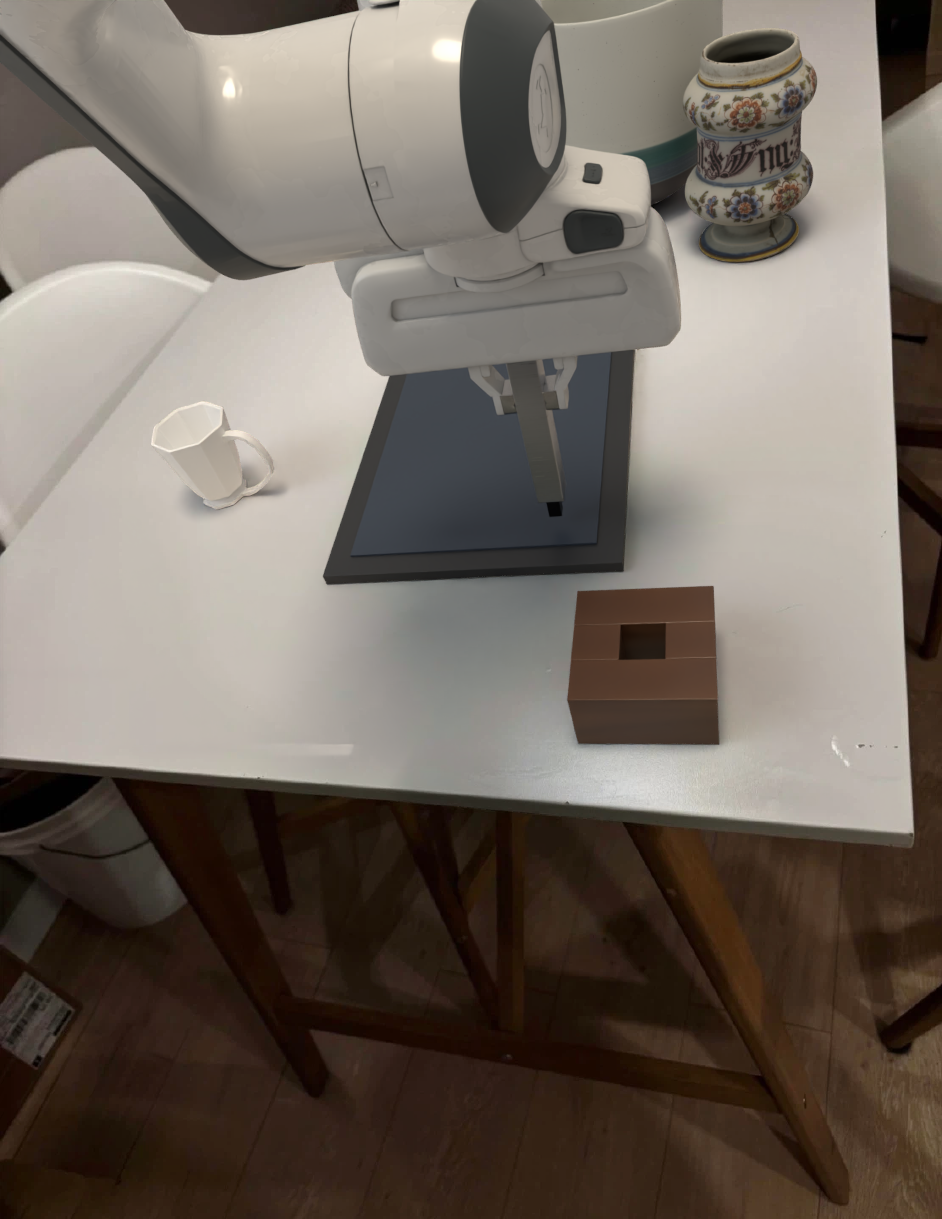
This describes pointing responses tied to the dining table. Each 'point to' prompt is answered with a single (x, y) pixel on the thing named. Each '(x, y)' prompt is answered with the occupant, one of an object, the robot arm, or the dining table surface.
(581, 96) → the planter
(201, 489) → the cup
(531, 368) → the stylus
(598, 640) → the brown block with hole
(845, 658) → the dining table surface
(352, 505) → the drawing tablet
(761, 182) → the apothecary jar
